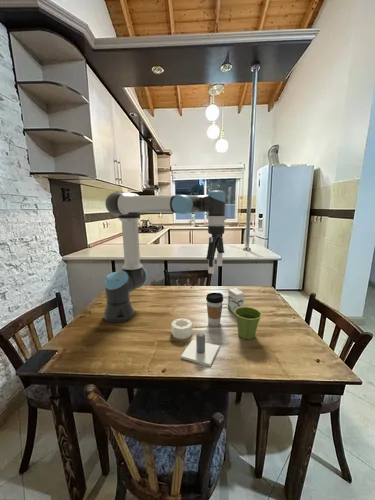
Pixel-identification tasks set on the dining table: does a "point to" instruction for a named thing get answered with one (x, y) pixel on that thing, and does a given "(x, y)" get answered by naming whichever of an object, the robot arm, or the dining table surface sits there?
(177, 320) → the collar
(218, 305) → the coffee cup
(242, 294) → the ink box
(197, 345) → the white square plate
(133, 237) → the robot arm
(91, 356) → the dining table surface
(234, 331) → the dining table surface
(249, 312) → the plant pot
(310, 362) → the dining table surface
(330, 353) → the dining table surface
